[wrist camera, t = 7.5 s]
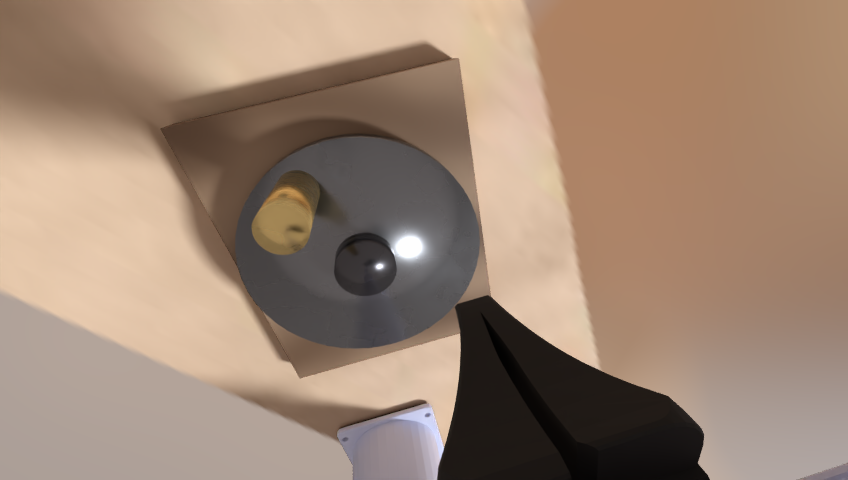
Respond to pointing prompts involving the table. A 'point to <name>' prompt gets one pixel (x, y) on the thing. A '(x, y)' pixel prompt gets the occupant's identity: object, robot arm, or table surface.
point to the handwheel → (357, 241)
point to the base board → (316, 119)
